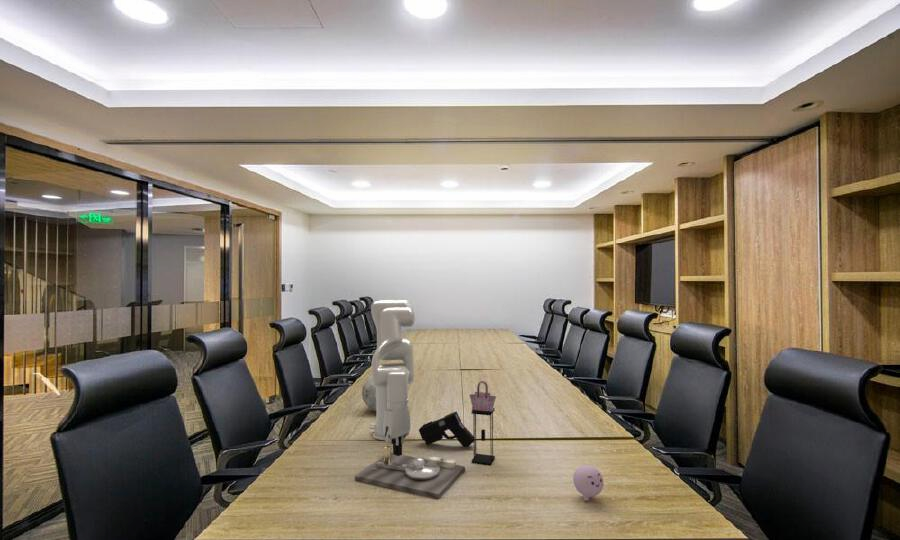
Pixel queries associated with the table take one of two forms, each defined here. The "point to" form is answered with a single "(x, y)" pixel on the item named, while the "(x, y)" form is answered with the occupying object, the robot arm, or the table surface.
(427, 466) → the crank handle
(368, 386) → the decorative sphere
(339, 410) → the table surface
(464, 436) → the toy
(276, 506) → the table surface
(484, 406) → the handbag
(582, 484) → the toy
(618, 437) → the table surface
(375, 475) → the level board
